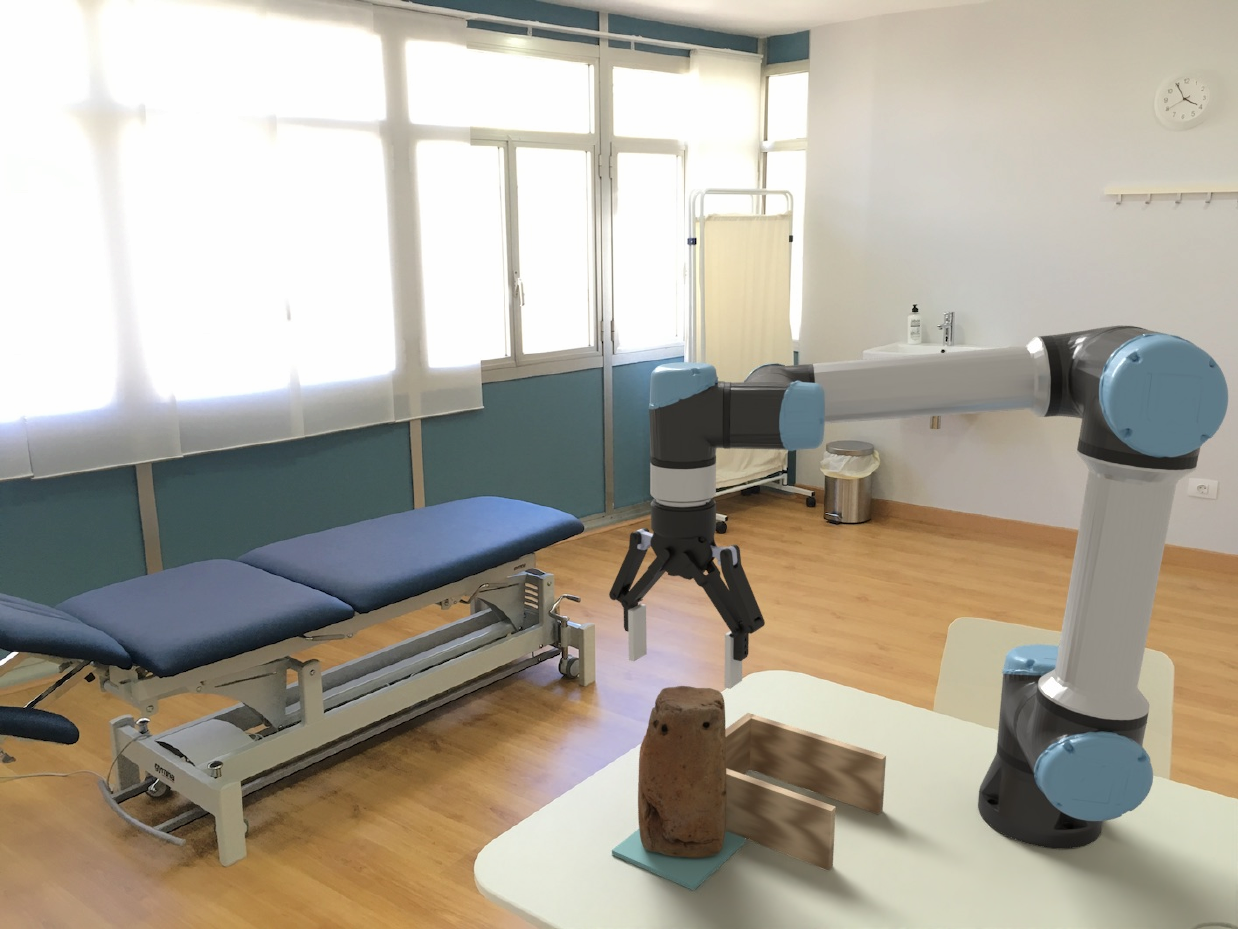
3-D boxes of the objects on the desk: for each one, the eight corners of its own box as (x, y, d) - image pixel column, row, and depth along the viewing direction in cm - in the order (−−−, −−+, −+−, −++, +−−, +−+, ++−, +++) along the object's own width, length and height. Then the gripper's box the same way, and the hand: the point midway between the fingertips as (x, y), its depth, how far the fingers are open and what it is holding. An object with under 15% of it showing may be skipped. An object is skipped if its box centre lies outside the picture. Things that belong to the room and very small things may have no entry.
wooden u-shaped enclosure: (882, 810, 137) (886, 755, 135) (828, 871, 124) (831, 811, 122) (746, 763, 149) (747, 712, 147) (684, 814, 136) (684, 759, 135)
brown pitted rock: (723, 828, 132) (726, 683, 128) (726, 863, 125) (730, 711, 120) (638, 826, 133) (638, 682, 128) (636, 861, 125) (637, 709, 121)
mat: (745, 842, 130) (745, 838, 130) (693, 890, 121) (693, 886, 121) (666, 811, 137) (666, 807, 137) (611, 854, 128) (611, 850, 128)
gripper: (796, 506, 114) (792, 684, 119) (616, 478, 129) (619, 637, 134) (763, 522, 109) (760, 708, 113) (578, 490, 123) (582, 656, 128)
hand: (684, 670), depth 123 cm, fingers open, 13 cm apart
